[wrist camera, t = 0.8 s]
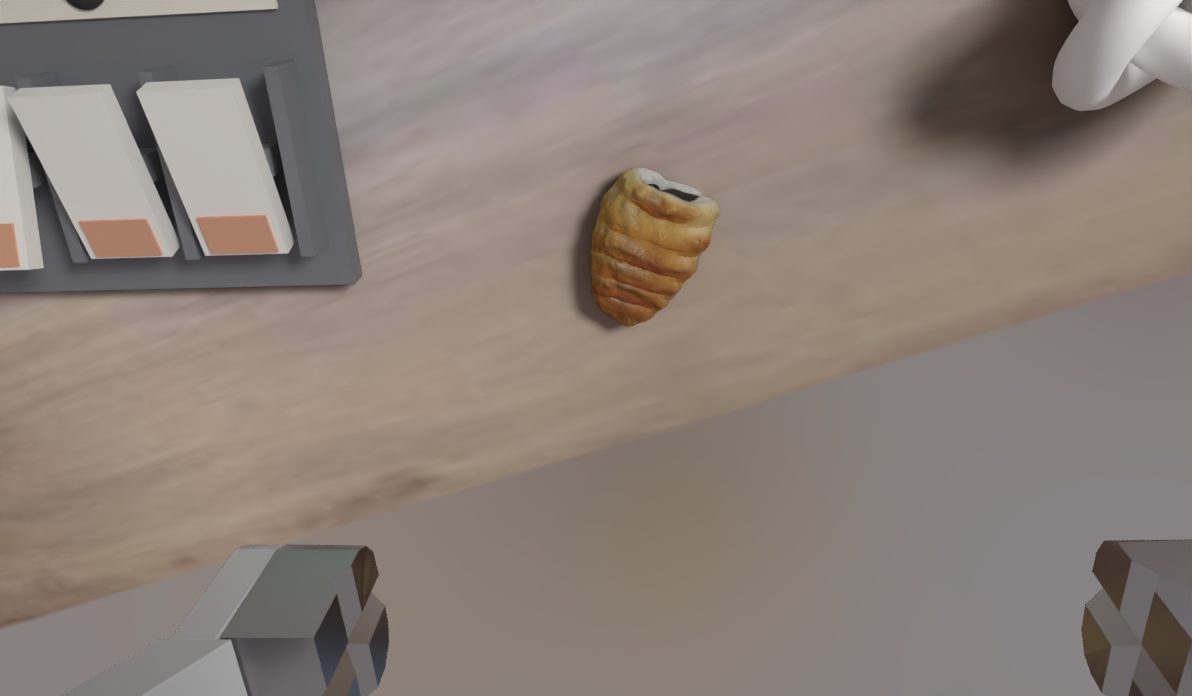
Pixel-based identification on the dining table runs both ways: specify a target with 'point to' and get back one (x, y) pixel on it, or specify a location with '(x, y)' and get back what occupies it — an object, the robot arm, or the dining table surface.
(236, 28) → the switch unit
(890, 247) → the dining table surface
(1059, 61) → the white knot sculpture
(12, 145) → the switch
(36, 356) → the dining table surface
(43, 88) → the switch middle
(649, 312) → the pastry
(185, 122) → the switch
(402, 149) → the dining table surface
